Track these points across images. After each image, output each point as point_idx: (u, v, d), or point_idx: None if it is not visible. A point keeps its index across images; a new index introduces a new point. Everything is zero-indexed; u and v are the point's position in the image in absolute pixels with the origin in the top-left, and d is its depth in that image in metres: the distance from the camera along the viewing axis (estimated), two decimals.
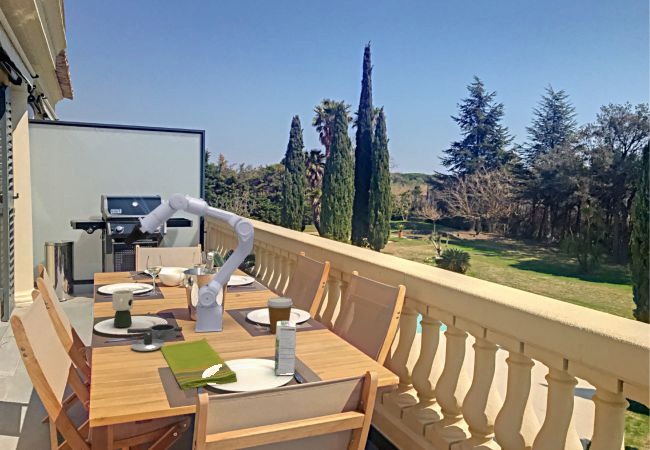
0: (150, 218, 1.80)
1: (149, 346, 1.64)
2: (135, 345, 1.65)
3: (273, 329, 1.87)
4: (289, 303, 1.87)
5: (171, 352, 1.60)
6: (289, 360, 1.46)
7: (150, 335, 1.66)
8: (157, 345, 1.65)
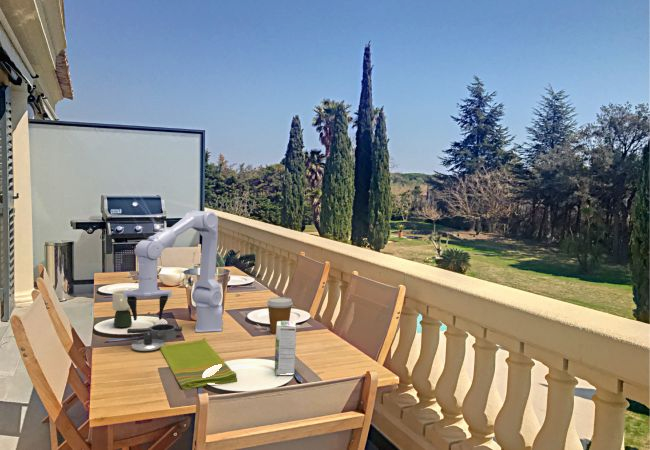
0: (156, 283, 1.65)
1: (149, 346, 1.64)
2: (135, 345, 1.65)
3: (273, 329, 1.87)
4: (289, 303, 1.87)
5: (170, 352, 1.60)
6: (289, 359, 1.46)
7: (150, 335, 1.66)
8: (157, 345, 1.65)
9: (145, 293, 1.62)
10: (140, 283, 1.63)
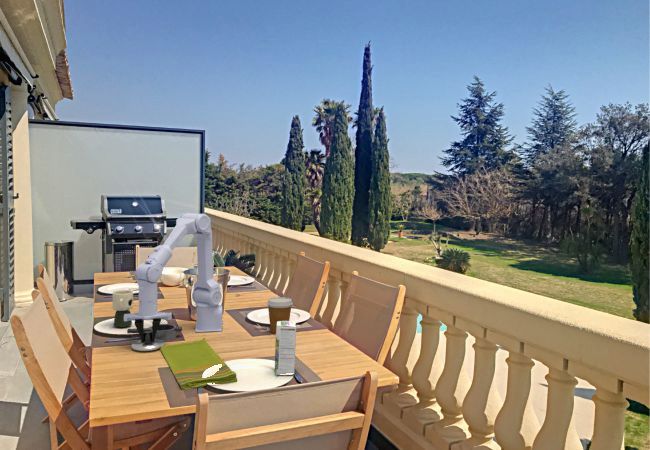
0: (156, 306, 1.66)
1: (149, 346, 1.64)
2: (135, 345, 1.65)
3: (273, 329, 1.87)
4: (289, 303, 1.87)
5: (170, 352, 1.60)
6: (289, 359, 1.46)
7: (150, 335, 1.66)
8: (157, 345, 1.65)
9: (145, 316, 1.63)
10: (140, 306, 1.64)
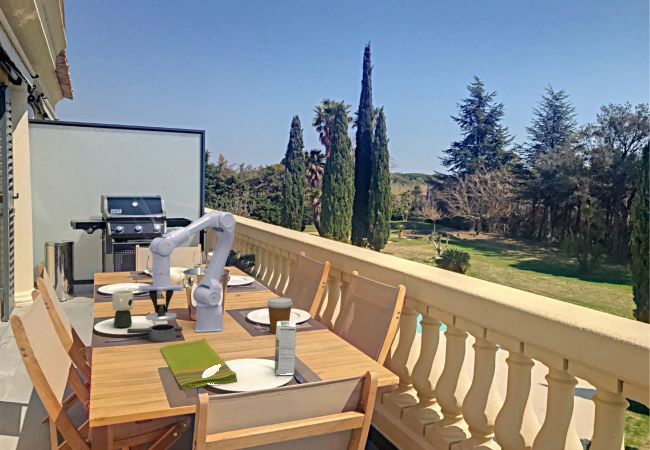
0: (169, 278, 1.75)
1: (162, 317, 1.73)
2: (149, 316, 1.74)
3: (273, 329, 1.87)
4: (289, 303, 1.87)
5: (170, 352, 1.60)
6: (289, 360, 1.46)
7: (163, 307, 1.75)
8: (169, 316, 1.74)
9: (159, 287, 1.72)
10: (154, 278, 1.73)
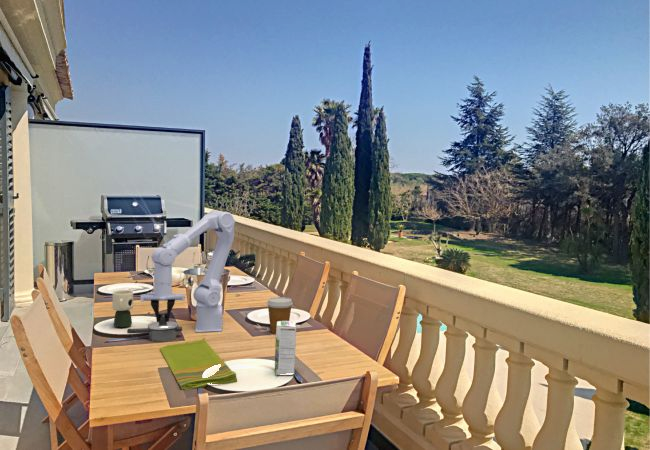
0: (170, 288, 1.77)
1: (164, 326, 1.75)
2: (151, 325, 1.76)
3: (273, 329, 1.87)
4: (289, 303, 1.87)
5: (170, 352, 1.60)
6: (289, 359, 1.46)
7: (165, 316, 1.77)
8: (171, 325, 1.76)
9: (161, 297, 1.74)
10: (156, 287, 1.75)
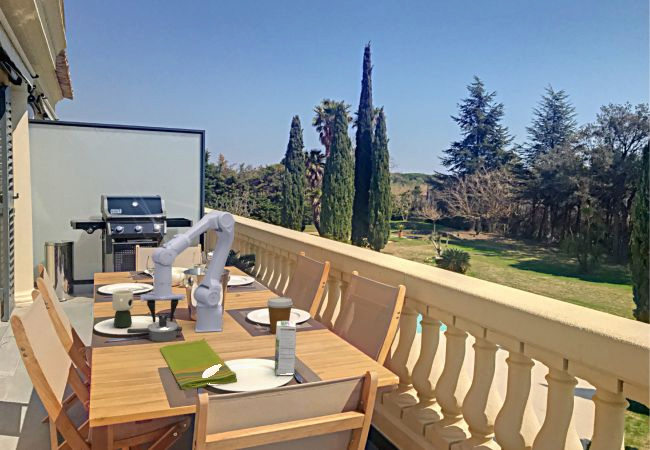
0: (170, 288, 1.77)
1: (164, 328, 1.75)
2: (151, 327, 1.76)
3: (273, 329, 1.87)
4: (289, 303, 1.87)
5: (170, 352, 1.60)
6: (289, 360, 1.46)
7: (165, 318, 1.77)
8: (171, 327, 1.76)
9: (160, 297, 1.74)
10: (156, 287, 1.75)
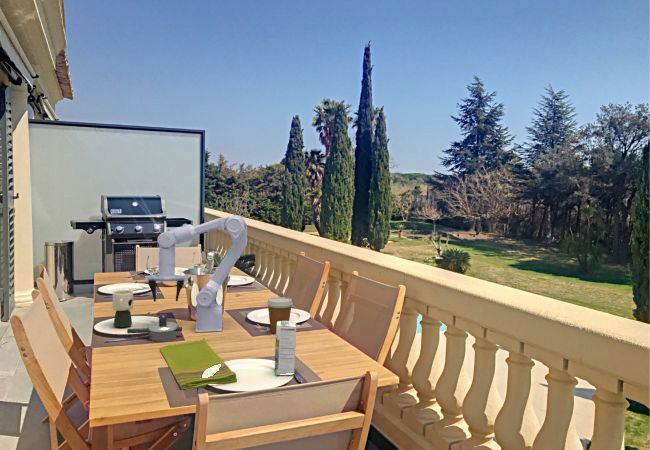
0: (173, 269, 1.87)
1: (164, 328, 1.75)
2: (151, 327, 1.76)
3: (273, 329, 1.87)
4: (289, 303, 1.87)
5: (170, 352, 1.60)
6: (289, 360, 1.46)
7: (165, 318, 1.77)
8: (171, 327, 1.76)
9: (164, 277, 1.84)
10: (160, 268, 1.85)
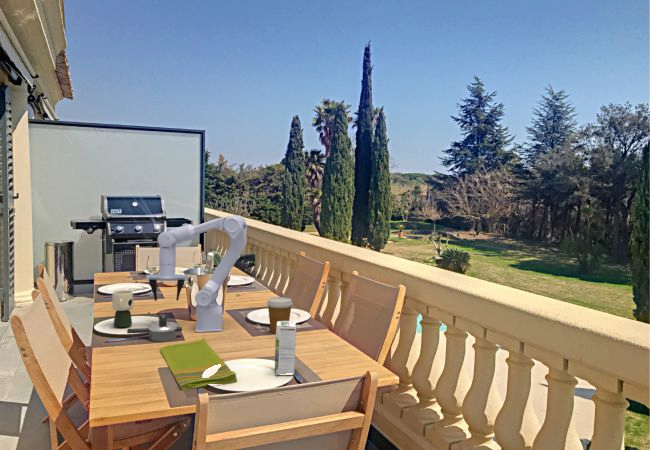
0: (174, 269, 1.88)
1: (164, 328, 1.75)
2: (151, 327, 1.76)
3: (273, 329, 1.87)
4: (289, 303, 1.87)
5: (170, 353, 1.60)
6: (289, 359, 1.46)
7: (165, 318, 1.77)
8: (171, 327, 1.76)
9: (165, 277, 1.86)
10: (161, 268, 1.87)
